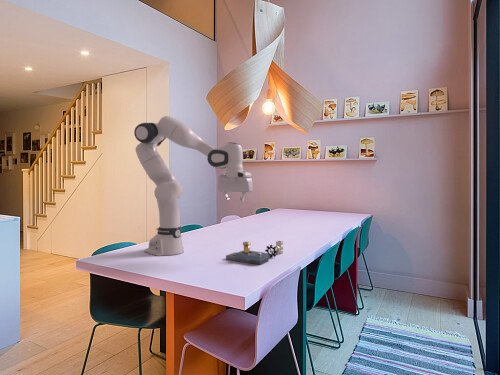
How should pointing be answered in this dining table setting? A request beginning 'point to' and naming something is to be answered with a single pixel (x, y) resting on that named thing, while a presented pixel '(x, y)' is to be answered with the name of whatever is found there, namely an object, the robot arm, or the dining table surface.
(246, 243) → the brass pin
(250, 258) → the gray block with recess
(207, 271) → the dining table surface
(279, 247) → the valve
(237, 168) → the robot arm
